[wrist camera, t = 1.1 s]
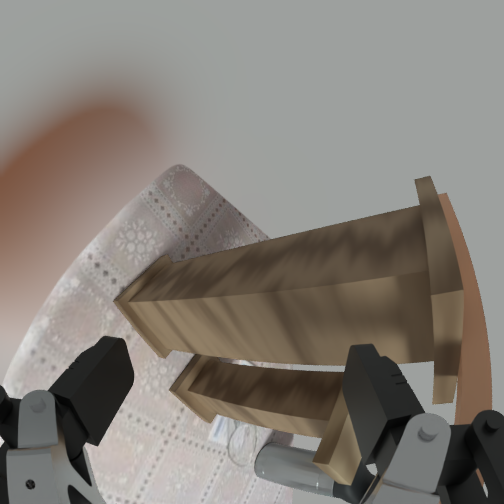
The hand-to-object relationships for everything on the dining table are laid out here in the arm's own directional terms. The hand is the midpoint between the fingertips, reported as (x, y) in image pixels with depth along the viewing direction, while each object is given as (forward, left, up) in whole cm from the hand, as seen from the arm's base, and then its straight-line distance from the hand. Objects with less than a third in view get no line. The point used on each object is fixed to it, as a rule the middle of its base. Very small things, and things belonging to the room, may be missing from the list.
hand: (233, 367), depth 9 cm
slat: (-10, -4, +8) cm, 14 cm away
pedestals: (-17, -2, -26) cm, 31 cm away
